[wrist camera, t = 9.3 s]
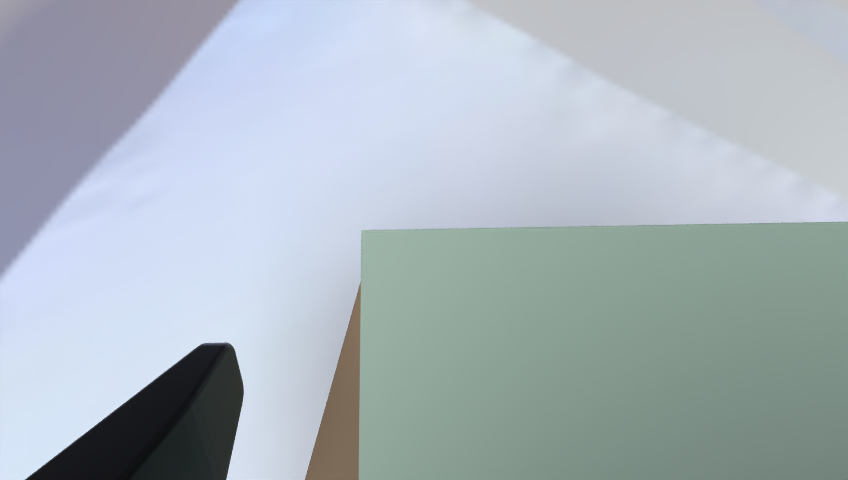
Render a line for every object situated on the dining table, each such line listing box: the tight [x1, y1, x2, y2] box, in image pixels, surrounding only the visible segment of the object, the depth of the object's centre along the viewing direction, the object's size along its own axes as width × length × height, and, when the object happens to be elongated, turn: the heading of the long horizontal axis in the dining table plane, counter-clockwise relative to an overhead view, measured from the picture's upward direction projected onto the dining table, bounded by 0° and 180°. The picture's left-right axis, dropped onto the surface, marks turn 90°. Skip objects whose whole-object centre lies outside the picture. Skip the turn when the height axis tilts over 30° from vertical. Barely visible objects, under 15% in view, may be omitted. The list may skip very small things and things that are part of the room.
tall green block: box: [359, 222, 848, 480], centre depth 9 cm, size 4×4×12 cm
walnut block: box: [305, 282, 361, 480], centre depth 17 cm, size 9×9×4 cm
